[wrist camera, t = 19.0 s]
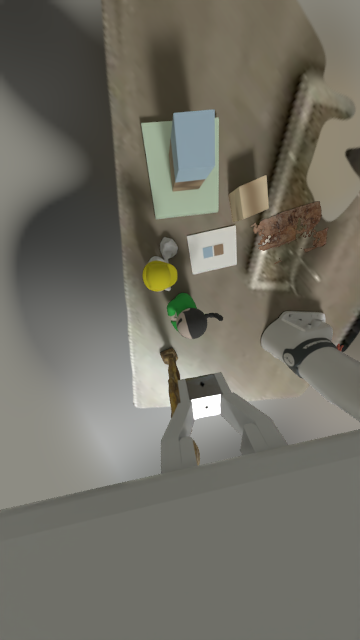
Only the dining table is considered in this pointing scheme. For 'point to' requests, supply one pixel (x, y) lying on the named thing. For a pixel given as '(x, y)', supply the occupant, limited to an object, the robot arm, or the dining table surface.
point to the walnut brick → (182, 185)
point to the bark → (291, 227)
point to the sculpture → (175, 386)
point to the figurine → (161, 268)
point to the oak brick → (249, 199)
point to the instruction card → (212, 249)
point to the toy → (188, 316)
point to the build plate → (160, 176)
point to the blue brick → (193, 144)
